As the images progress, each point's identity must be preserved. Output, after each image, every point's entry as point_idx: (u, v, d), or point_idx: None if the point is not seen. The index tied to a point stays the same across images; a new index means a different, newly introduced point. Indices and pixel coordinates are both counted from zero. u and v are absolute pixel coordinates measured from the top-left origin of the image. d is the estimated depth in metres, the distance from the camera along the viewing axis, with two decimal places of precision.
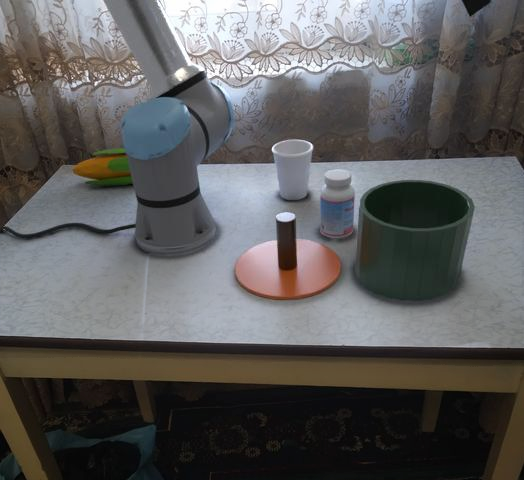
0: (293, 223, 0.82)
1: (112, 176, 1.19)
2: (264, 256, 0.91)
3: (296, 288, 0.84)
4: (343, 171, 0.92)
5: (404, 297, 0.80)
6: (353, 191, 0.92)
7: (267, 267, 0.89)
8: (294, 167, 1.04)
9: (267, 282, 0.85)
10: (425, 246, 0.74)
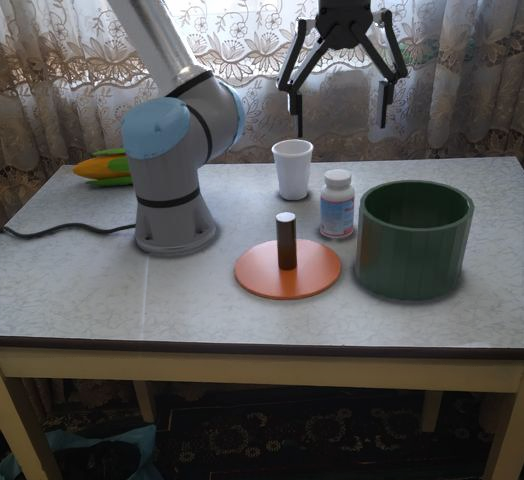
0: (293, 223, 0.82)
1: (112, 176, 1.19)
2: (264, 256, 0.91)
3: (296, 288, 0.84)
4: (343, 171, 0.92)
5: (404, 297, 0.80)
6: (353, 191, 0.92)
7: (267, 267, 0.89)
8: (294, 167, 1.04)
9: (267, 282, 0.85)
10: (425, 246, 0.74)
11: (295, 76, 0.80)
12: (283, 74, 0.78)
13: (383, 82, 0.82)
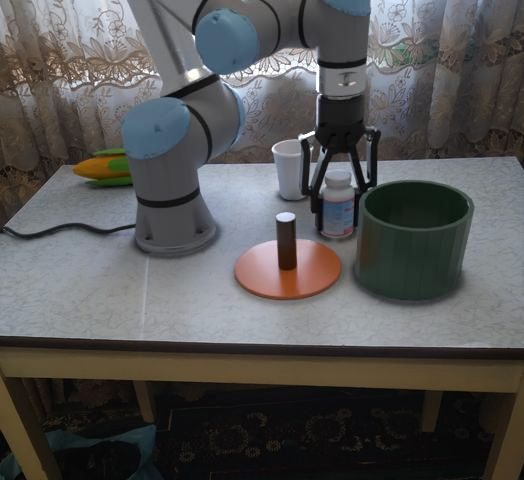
0: (293, 223, 0.82)
1: (112, 176, 1.19)
2: (264, 256, 0.91)
3: (296, 288, 0.84)
4: (343, 171, 0.92)
5: (404, 297, 0.80)
6: (353, 191, 0.92)
7: (267, 267, 0.89)
8: (294, 167, 1.04)
9: (267, 282, 0.85)
10: (425, 246, 0.74)
11: (312, 182, 0.91)
12: (302, 183, 0.90)
13: (356, 189, 0.94)
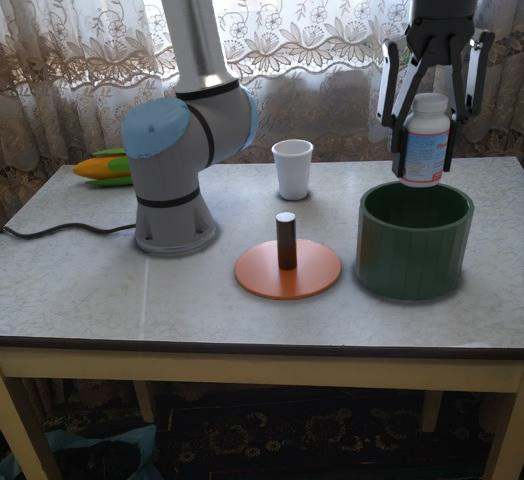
0: (293, 223, 0.82)
1: (112, 176, 1.19)
2: (264, 256, 0.91)
3: (296, 288, 0.84)
4: (436, 94, 0.70)
5: (404, 297, 0.80)
6: (449, 121, 0.70)
7: (267, 267, 0.89)
8: (294, 167, 1.04)
9: (267, 282, 0.85)
10: (425, 246, 0.74)
11: (396, 109, 0.69)
12: (384, 108, 0.68)
13: (450, 120, 0.71)
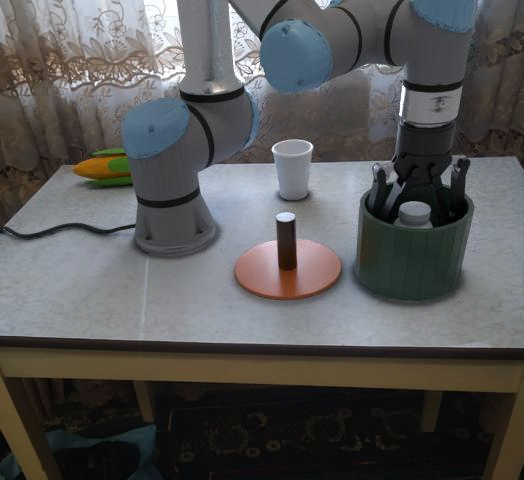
0: (293, 223, 0.82)
1: (112, 176, 1.19)
2: (264, 256, 0.91)
3: (296, 288, 0.84)
4: (420, 204, 0.80)
5: (404, 297, 0.80)
6: (431, 227, 0.80)
7: (267, 267, 0.89)
8: (294, 167, 1.04)
9: (267, 282, 0.85)
10: (425, 246, 0.74)
11: (381, 217, 0.79)
12: None
13: (437, 224, 0.82)
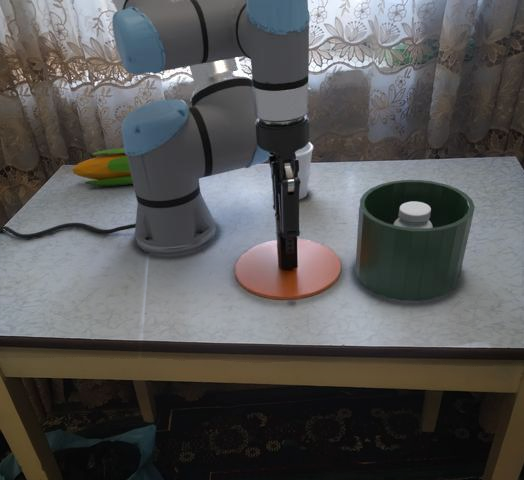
0: None
1: (112, 176, 1.19)
2: (264, 256, 0.91)
3: (296, 288, 0.84)
4: (420, 204, 0.80)
5: (404, 297, 0.80)
6: (431, 227, 0.80)
7: (267, 267, 0.89)
8: None
9: (267, 282, 0.85)
10: (425, 246, 0.74)
11: None
12: (298, 224, 0.78)
13: None
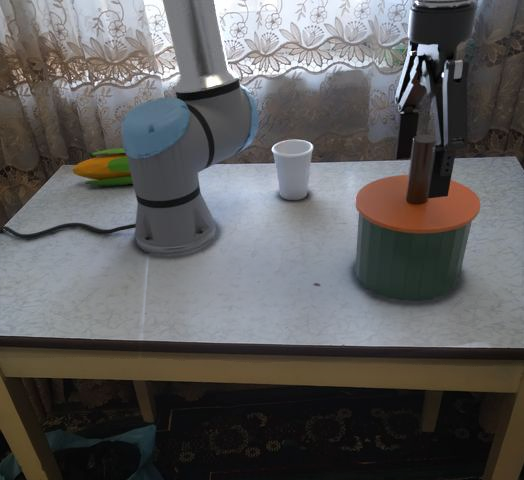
0: None
1: (112, 176, 1.19)
2: (386, 191, 0.81)
3: (435, 221, 0.73)
4: None
5: (404, 297, 0.80)
6: None
7: (393, 202, 0.78)
8: (294, 167, 1.04)
9: (399, 216, 0.75)
10: (425, 246, 0.74)
11: None
12: (466, 128, 0.63)
13: (407, 113, 0.76)
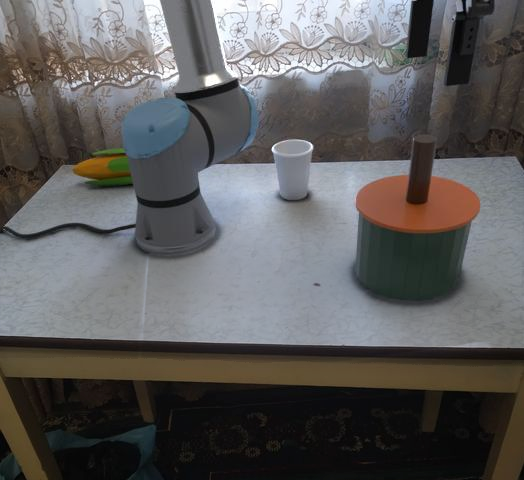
0: (434, 146, 0.72)
1: (112, 176, 1.19)
2: (386, 191, 0.81)
3: (435, 221, 0.73)
4: None
5: (404, 297, 0.80)
6: None
7: (393, 202, 0.78)
8: (294, 167, 1.04)
9: (399, 216, 0.75)
10: (425, 246, 0.74)
11: None
12: None
13: (420, 0, 0.67)
